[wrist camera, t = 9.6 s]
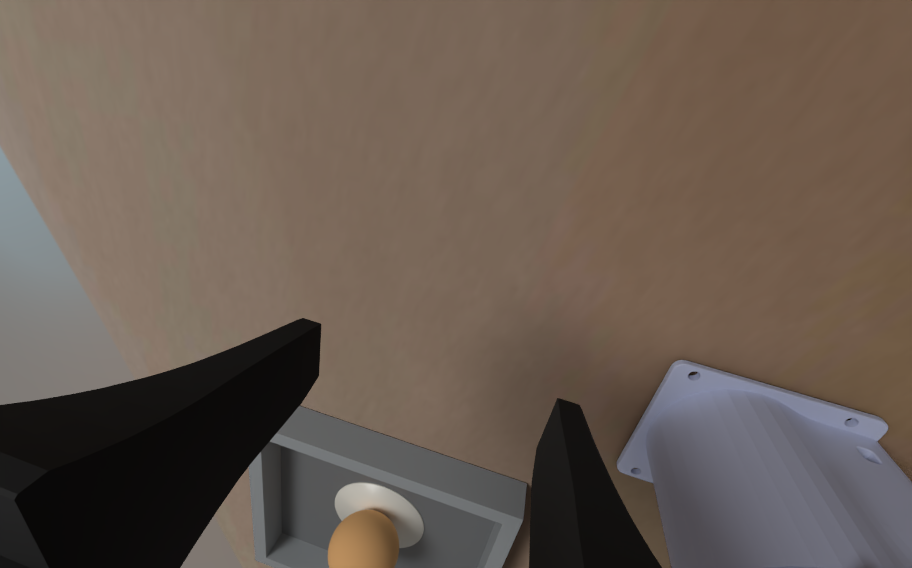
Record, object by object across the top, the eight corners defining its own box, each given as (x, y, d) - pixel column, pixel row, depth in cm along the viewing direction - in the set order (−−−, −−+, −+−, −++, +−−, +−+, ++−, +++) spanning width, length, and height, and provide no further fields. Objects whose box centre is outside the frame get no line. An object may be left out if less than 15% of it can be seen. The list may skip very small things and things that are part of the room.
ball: (405, 501, 29) (378, 573, 25) (411, 544, 31) (387, 616, 27) (343, 488, 30) (307, 555, 26) (353, 530, 32) (321, 598, 28)
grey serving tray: (526, 483, 26) (523, 519, 24) (473, 607, 34) (467, 643, 32) (270, 395, 28) (245, 422, 26) (274, 531, 36) (255, 560, 34)
